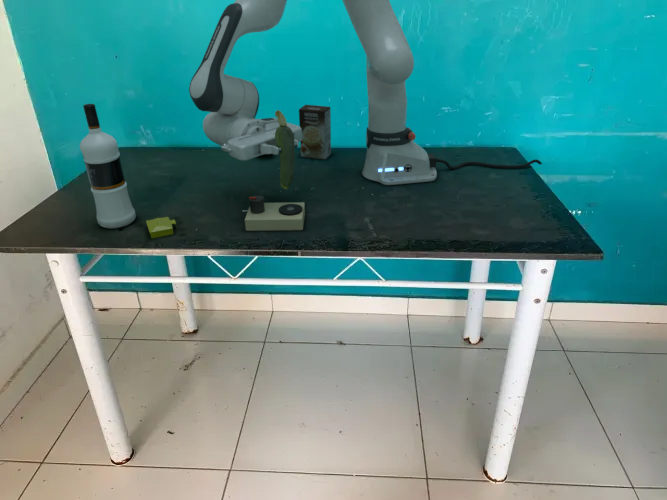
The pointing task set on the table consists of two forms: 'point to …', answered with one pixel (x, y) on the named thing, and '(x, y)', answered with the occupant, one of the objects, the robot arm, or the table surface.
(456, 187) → the table surface
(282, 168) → the vegetable
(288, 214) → the burner
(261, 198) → the hob knob
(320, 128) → the coffee box
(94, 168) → the vodka
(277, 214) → the hot plate
